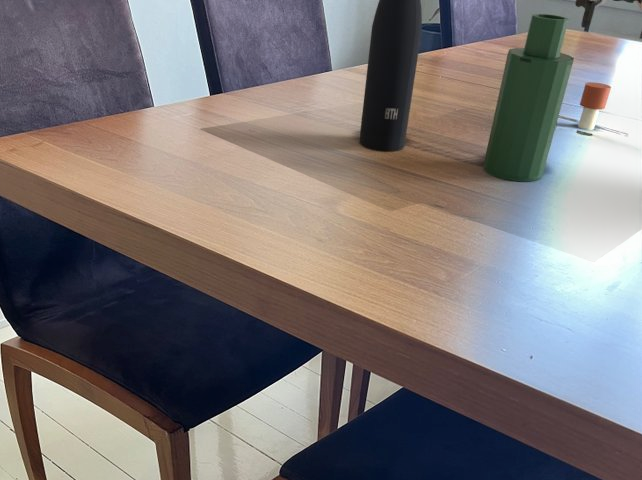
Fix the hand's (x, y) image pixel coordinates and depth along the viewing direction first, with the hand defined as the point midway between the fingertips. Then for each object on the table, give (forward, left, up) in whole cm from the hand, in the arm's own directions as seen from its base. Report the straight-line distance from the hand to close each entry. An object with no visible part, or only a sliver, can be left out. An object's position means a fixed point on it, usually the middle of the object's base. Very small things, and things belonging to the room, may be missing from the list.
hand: (614, 31), depth 115 cm
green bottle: (-5, +37, -13) cm, 40 cm away
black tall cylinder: (+13, +42, -13) cm, 46 cm away
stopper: (-3, +9, -13) cm, 16 cm away
